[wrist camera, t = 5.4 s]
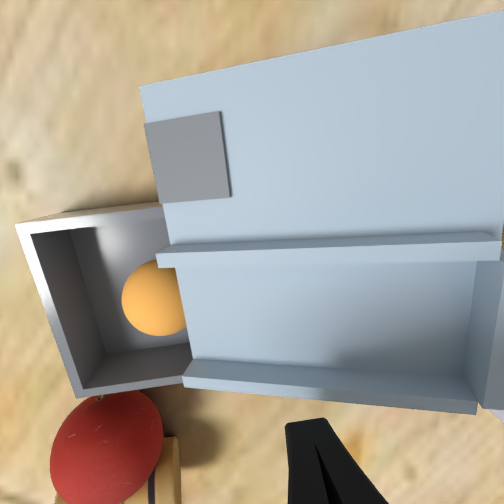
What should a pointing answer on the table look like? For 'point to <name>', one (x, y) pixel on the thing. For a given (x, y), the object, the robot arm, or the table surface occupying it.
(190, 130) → the light blue flat piece
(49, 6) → the table surface
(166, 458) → the kendama
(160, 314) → the ball
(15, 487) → the table surface
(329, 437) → the robot arm
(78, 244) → the grey open box
